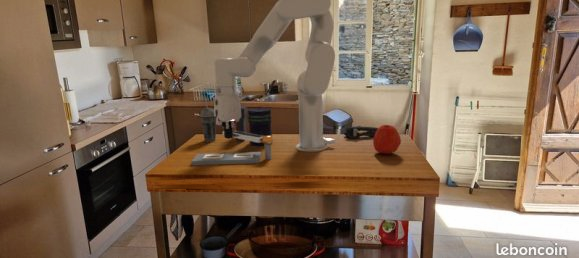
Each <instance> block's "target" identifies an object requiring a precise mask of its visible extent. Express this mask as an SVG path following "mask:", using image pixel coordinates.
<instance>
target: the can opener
mask: <svg viewBox="0 0 579 258" xmlns="http://www.w3.org/2000/svg"><path fill="white" fill-rule="evenodd" d="M378 128H379V127H377V126H375V127H373V126H362V125H358V126H348V127H346V129H345V132H344V134H343V135H344V136H345V137H347V138H351V139H354V140H355V139H357V138H360V137H372V138H374V136H375V133H376V131H377V129H378Z"/></svg>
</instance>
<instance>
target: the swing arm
mask: <svg viewBox="0 0 579 258" xmlns="http://www.w3.org/2000/svg"><path fill="white" fill-rule="evenodd" d="M222 136H224V130H222ZM233 138H234V139H237V138H238V139H243V140H245V141H249V142H250V141H253V142H258V143H261V142H263V143H264V144H270V143H272V144H273V135H272V136H270V135H266V136H261V135H256V134H251V133H249V132H247V133H245V132H240V131H236V130H234V129H233ZM233 138H232V139H233Z"/></svg>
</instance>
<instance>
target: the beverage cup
mask: <svg viewBox="0 0 579 258" xmlns="http://www.w3.org/2000/svg"><path fill="white" fill-rule="evenodd" d="M205 103H206V107H204V108H202V110H201V111H200V115H199V118H200V122H201V128H202V132H203V133H202V134H203V138H204V142H206V143H212V142H215V141H216V137H217V136H216V133H217V129H216V128H217V125H216V120H215V117H214V108H212V107H208V106H209V105H208V98H207V97H205Z"/></svg>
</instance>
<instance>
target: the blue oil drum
mask: <svg viewBox="0 0 579 258" xmlns="http://www.w3.org/2000/svg"><path fill="white" fill-rule="evenodd" d="M247 119H248V122H247V123H248V124H249V125H248V126H249V127H248V128H249V132H248V133H251V134H256V135H261V136H266V135H270V136H272V137H273V133H272V132H273V131H272V109H271V108H269V107H254V108H249V109H247ZM249 145H250V146H252V147H255V146H256V147H255V148H257V147H259V148H262V146H264V143H263V142H261V143H258V142H253V141H249ZM271 145H273V142H272V143H271Z"/></svg>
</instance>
